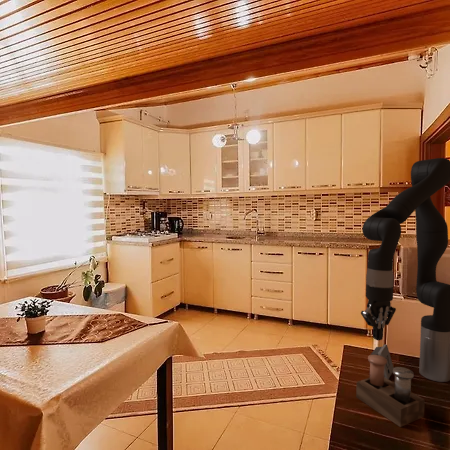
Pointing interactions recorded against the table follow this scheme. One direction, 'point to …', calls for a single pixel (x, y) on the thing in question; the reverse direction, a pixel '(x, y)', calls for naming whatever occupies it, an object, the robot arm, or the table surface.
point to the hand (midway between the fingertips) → (377, 339)
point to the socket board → (390, 402)
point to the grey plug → (402, 383)
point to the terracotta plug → (377, 369)
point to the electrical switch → (385, 353)
